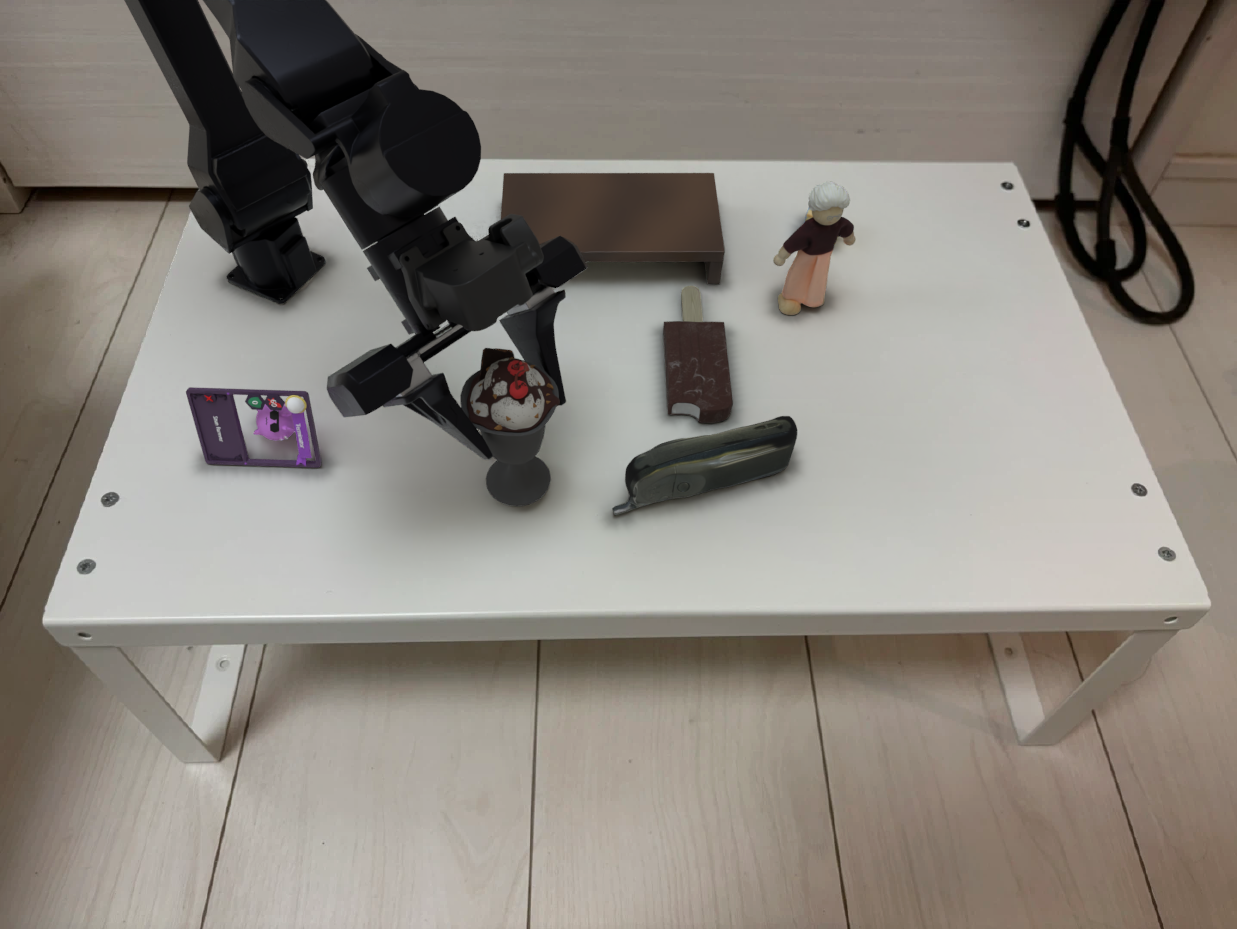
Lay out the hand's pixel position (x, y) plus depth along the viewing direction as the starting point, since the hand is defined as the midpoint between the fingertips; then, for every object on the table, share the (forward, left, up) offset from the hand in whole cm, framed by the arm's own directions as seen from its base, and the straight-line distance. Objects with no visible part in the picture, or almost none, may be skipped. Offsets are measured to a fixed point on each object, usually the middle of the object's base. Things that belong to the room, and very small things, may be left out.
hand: (525, 431), depth 64 cm
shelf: (-8, +28, -9) cm, 31 cm away
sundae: (-1, +1, -8) cm, 8 cm away
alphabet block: (+9, +39, -9) cm, 41 cm away
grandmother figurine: (+11, +30, -9) cm, 33 cm away
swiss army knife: (+11, +8, -9) cm, 16 cm away
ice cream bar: (+5, +19, -9) cm, 22 cm away
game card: (-21, -5, -9) cm, 23 cm away
